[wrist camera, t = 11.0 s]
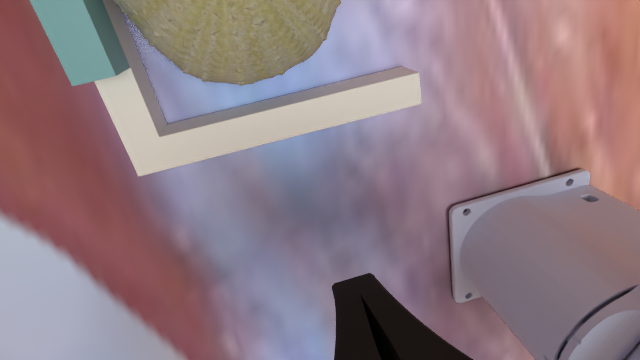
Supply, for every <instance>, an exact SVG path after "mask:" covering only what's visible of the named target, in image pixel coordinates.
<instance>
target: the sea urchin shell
mask: <svg viewBox="0 0 640 360" xmlns="http://www.w3.org/2000/svg"><path fill="white" fill-rule="evenodd" d="M114 2H115V3H116V4H118V5H119V6H120V7H121V10H122V11H123V12H124V13H126V14H127V15H128V18H129V19H130V20H131V21H132V22H133V23H134V24H135V25H136V26H137V28H138V29H139V30H140V31H141V32H142V36H143V37H144V38H145V39H147V40H148V42H149V45H151V46H154V47H155V48H156V49H157V50H158V51H159V52H161V53H162V54H163V55H164V56H166V57H167V58H169V59H170V60H171V61H172V62H173V63H174V64H175V65H177V66H178V67H179V68H180V69H181V70H182V71H183V72H184V73H187V74H190V75H192V76H195V77H197V78H201V79H202V81H203V82H204V81H210V82H226V83H231V84H239V85H241V86H242V85H244V84H252V83H255V82H257V81H259V80H262V79H267V78H273V77H274V76H276V75H278V74H279V75H283V74H284V73H285V72H286V70H288V69H290V68H291V67H293V66H295V65H297V64H299V63H301V62H304V61H305V60H307V59H308V58H310V57H311V56H312V55H313V54H314V53H315V52H316V50H317V49H318V48H319V47H320V45H321V44H322V42H323V41H324V40H326V38H327V33H328V31H329V29H330V25H331V22H332V19H333V17H334V14H335V12H336V9H337V7H338V6H339V5H340V3H341V2H340V0H114Z"/></svg>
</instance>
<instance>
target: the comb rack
mask: <svg viewBox="0 0 640 360" xmlns="http://www.w3.org/2000/svg"><path fill="white" fill-rule="evenodd" d="M30 2H31V4H32V6H33V8H34V10H35V12H36V14H37V16H38V18H39V20H40V22H41V24H42V26H43V28H44V30H45V32H46V34H47V36H48V38H49V40H50V42H51V44H52V46H53V48H54V50H55V52H56V54H57V56H58V58H59V60H60V62H61V64H62V66H63V68H64V70H65V72H66V74H67V76H68V78H69V80H70V83H71V85H72V86H75V85H80V84H84V83H88V82H93V81H94V82H95V84H96V86H97V88H98V90H99V92H100V95H101V97H102V99H103V101H104V103H105V105H106V108H107V110H108V112H109V114H110V116H111V118H112V120H113V123H114V125H115V127H116V129H117V131H118V133H119V135H120V138H121V140H122V142H123V144H124V146H125V148H126V150H127V153H128V155H129V157H130V159H131V161H132V163H133V165H134V168H135V170H136V172H137V174H138V176H143V175H147V174H151V173H154V172H158V171H162V170H166V169H170V168H174V167H178V166H182V165H186V164H189V163H193V162H197V161H201V160H205V159H209V158H213V157H217V156H221V155H224V154H228V153H232V152H236V151H240V150H244V149H248V148H252V147H256V146H259V145H263V144H267V143H271V142H275V141H279V140H283V139H287V138H291V137H294V136H298V135H302V134H306V133H310V132H314V131H318V130H322V129H326V128H329V127H333V126H337V125H341V124H345V123H349V122H353V121H357V120H361V119H364V118H368V117H372V116H376V115H380V114H384V113H388V112H392V111H396V110H399V109H403V108H407V107H411V106H415V105H419V104H421V91H420V78H419V72H416V71H414V70H411V69H408V68H406V67H403V66H401V67H397V68H393V69H389V70H385V71H381V72H377V73H373V74H369V75H365V76H361V77H357V78H353V79H348V80H344V81H340V82H336V83H332V84H328V85H324V86H320V87H316V88H312V89H308V90H304V91H300V92H296V93H292V94H288V95H284V96H279V97H275V98H271V99H267V100H263V101H259V102H255V103H251V104H247V105H243V106H239V107H235V108H231V109H227V110H223V111H219V112H215V113H210V114H206V115H202V116H198V117H194V118H190V119H186V120H182V121H178V122H174V123H170V124H167V123H166V121H165V118H164V116H163V113H162V111H161V108H160V106H159V103H158V101H157V98H156V96H155V93H154V91H153V88H152V86H151V83H150V81H149V78H148V76H147V73H146V71H145V68H144V65H143V63H142V60H141V58H140V55H139V53H138V50H137V48H136V45H135V43H134V40H133V38H132V35H131V33H130V30H129V28H128V25H127V23H126V20H125V18H124V15H123V13H122V10H121V8H120V6H119V5H118V4H116V3H115V2H114V0H30Z"/></svg>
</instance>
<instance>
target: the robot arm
mask: <svg viewBox="0 0 640 360" xmlns="http://www.w3.org/2000/svg"><path fill="white" fill-rule="evenodd" d="M589 182H590V173H589V172H588V171H586V170H584V169H580V170H576V171H573V172H569V173H566V174H562V175H559V176H555V177H552V178H548V179H545V180H541V181H538V182H534V183H531V184H527V185H524V186H520V187H516V188H513V189H509V190H506V191H502V192H499V193H495V194H492V195H488V196H485V197H481V198H478V199H474V200H471V201H467V202H464V203H460V204H457V205H454V206H453V207H452V208H451V209H450V211H449V226H450V247H451V268H452V288H453V298H454V300H455V301H456V302H457V303H463V302H466V301H469V300H472V299H476V298H479V297H482V296H483V298H484V299H485V300H486V301H487V302H488V304H489V305H490V306H491V307H492V308H493V309H494V311H495V312H496V313H497V314H498V315H499V317H500V318H501V319H502V320H503V321H504V323H505V324H506V325H507V326H508V327H509V329H510V330H511V331H512V332H513V333H514V335H515V336H516V337H517V338H518V339H519V340H520V342H521V343H522V344H523V345H524V346H525V348H526V349H527V350H528V351H529V352H530V354H531V355H532V356H533V357H534V358H535V360H640V210H638V209H636V208H634V207H632V206H630V205H628V204H626V203H624V202H622V201H620V200H618V199H616V198H614V197H613V196H611V195H609V194H607V193H605V192H603V191H601V190H599V189H597V188H595V187H593V186H591V185H589ZM465 209H467V210H466V212H464V213H463V211H464V210H465ZM332 290H333V294H334V299H335V307H336V344H335V356H334V360H473V359H471V358H470V357H468V356H467V355H465V354H464V353H462V352H461V351H459V350H458V349H456V348H455V347H453V346H452V345H450V344H449V343H448V342H446V341H445V340H444V339H442V338H441V337H440V336H438V335H437V334H436V333H434V332H433V331H432V330H431V329H429V328H428V327H427V326H425V325H424V324H423V323H422V322H421V321H419V320H418V319H417V318H416V317H415V316H414V315H412V314H411V313H410V312H409V311H408V310H407V309H406V308H405V307H404V306H402V305H401V304H400V303H399V302H398V301H397V300H396V299H395V298H394V297H393V296H392V295H391V294H390V293H389V292H388V291H387V290H386V289H385V288H384V287H383V286H382V285H381V283H380V282H379V281H378V280H377V279H376V278H375V276H374V275H373V274H371V273H368V274H365V275H361V276H358V277H354V278H351V279H348V280H344V281H341V282H338V283H334V285H333V286H332Z"/></svg>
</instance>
